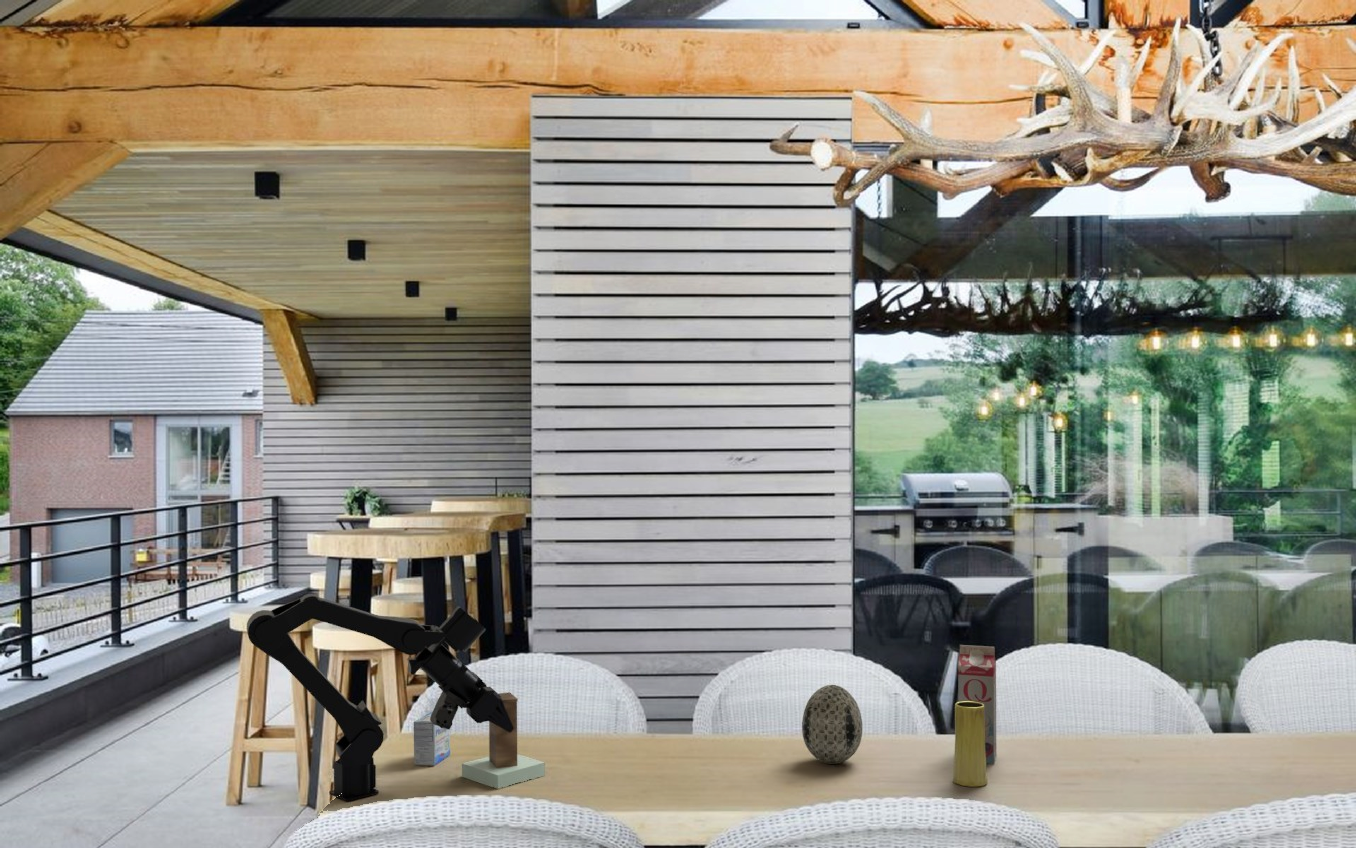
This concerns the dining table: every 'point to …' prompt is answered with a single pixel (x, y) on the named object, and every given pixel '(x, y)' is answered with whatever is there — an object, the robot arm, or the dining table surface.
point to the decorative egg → (832, 725)
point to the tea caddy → (504, 737)
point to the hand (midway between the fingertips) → (506, 725)
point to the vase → (969, 744)
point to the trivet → (503, 771)
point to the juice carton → (980, 688)
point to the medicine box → (430, 742)
